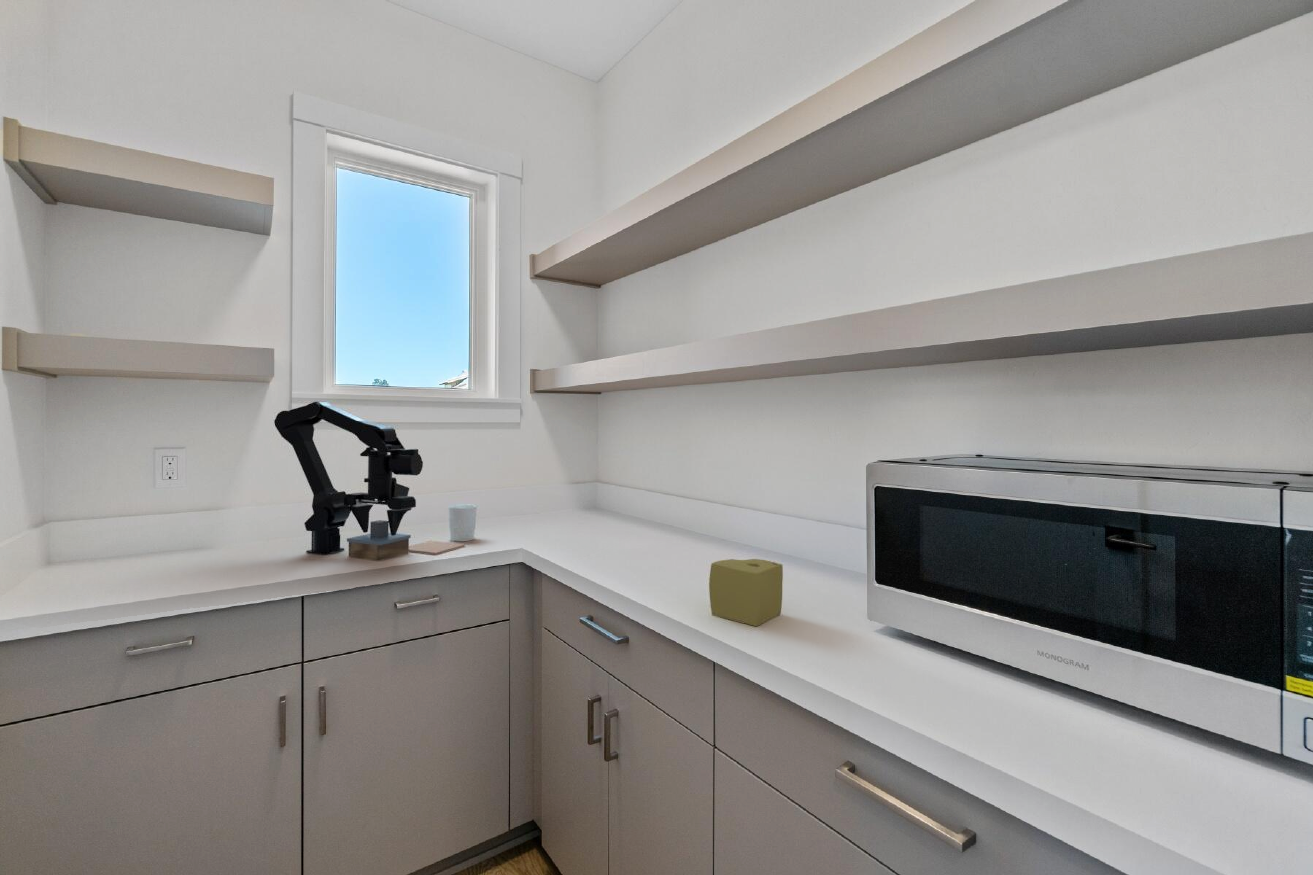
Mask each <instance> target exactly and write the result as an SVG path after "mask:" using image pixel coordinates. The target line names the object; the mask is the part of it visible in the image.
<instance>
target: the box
mask: <svg viewBox="0 0 1313 875" xmlns="http://www.w3.org/2000/svg"><path fill="white" fill-rule="evenodd" d="M409 540H410V538H408V539H404V540H400V541H396V542H392V543H388V544H383V545H372V544H363V543H354V542H348V558H351V559H352V558H353V559H361V560H370V561H377V562H381V561H384V560H387V559H388V560H389V559H391V558H396V557H399V556H403V555H407V554H409V553H410V552H409V546H410V541H409Z"/></svg>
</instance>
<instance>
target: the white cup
mask: <svg viewBox="0 0 1313 875" xmlns="http://www.w3.org/2000/svg"><path fill="white" fill-rule="evenodd" d="M477 507H478V506H477V505H475V504H469V503H468V504H466V503H465V504H450V505H449V506H448V516H449V517H448V520H449V522H448V523H449V525H448V526H449V535H450V536H449V537H450V538H449V539H450V541H452V542H469V541H473V540H474V539H475V530H476V522H477Z"/></svg>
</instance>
